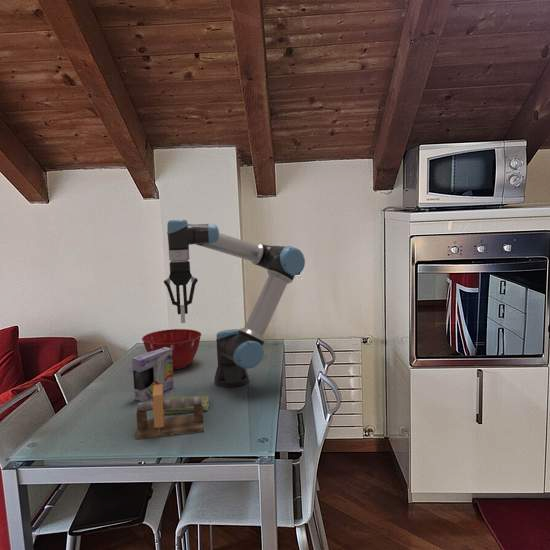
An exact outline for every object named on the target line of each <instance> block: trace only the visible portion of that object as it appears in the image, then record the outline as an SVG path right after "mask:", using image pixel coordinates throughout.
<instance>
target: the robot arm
mask: <svg viewBox="0 0 550 550" xmlns="http://www.w3.org/2000/svg"><path fill="white" fill-rule="evenodd" d="M166 228H167V232H166V234H167V244H168V260H169V261H170V262H169V275H168V277H167V278H166V279H165V280H163V284H164V285H165V287H166V288H167V292H168V295H169V298H170V300H171V303H172V304H171V305H173V306H176V308H177V309H176V310H177V315H180V322H181V324H185V323H186V315H187V314H188V313H189V312H188V311H189V310H188V305H190V304H192V303H193V297H194V293H195V289H196V284H197V283H198V281H199V280H198V278H197V277H194V276H193V275H192V273H191V265H190V264H191V263H190V261H189V260H190V247H189V246H191V245H195V246H200V247H203V248H205V249H210V250H212V251H216V252H219V253H222V254H227V255H231V256H233V257H237V258H240V259H243V260H246V261H250V262H251V263H252V264H253V265H255V266H258V267H261V268H263V269H266V272H267V275H268V276H267V278H266V281H265V283H264V285H263V287H262V290H261V292H260V293H259V296H258V297H257V299H256V301H255V304H254V307H253V308H252V310H251V313H250V315H249V316H248V319H247V321H246V323H245V325H244V326H243V327H242V328H240V329H239V328H234V329H225V330H220V331H218V332H216V339H215V340H216V341H215V342H216V355H217V367H216V371H215V373H214V374H215V375H214V380H213V381H214V384H215V385H216V386H218V387H220V388H221V387H222V388H237V387H241V386H245V385H247V384H248V383H249V382H250V376H249V373H248V370H249V369H253V368H255V367H257V366H258V365H259V364H260V363H261V362H262V361H263V358H264V355H265V354H264V348H263V346H264V344H265V341H266V340H265V338H264V337H265V336H264V335H265V333H266V331H267V329H268V326H269V324H270V322H271V320H272V317H273V315H274V314H275V312H276V310H277V307H278V305H279V303H280V300H281V298H282V296H283V294H284V291H286V287H287V285H289V284H291V283H293V281H294V278H295V277H296V276H298V275H300V274H301V273H302V272H303V270H304V269H305V265H306V260H305V257H304V253H303V252H302V251H301V250H300V249H299V248H297V247H294V246H290V245H288V246H287V245H286V246H285V245H284V246H282V245H266V244H263V243H257V244H255V243H252V242H249V241H246V240H243V239H239V238H236V237H234V236H231V235H226V234H224V233H221V232H220V231H219V230H220V229H219V227H218V225H216V224H215V223H201V224H191V223H188V220H187V219H175V220H174V219H173V220H171V219H170V220H169V221H167V227H166ZM171 282H172V284H173V285H174V286H175V290H176V292H175V293H176V294H175V295H176V300H175V297H174V294H173V291H172V288H171V285H170V284H171ZM189 282H191V286H190V291H189V297H188V295H187V293H188V292H187V285H188V283H189ZM180 286H182V297H183V304H181V293H180Z"/></svg>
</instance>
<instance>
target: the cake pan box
mask: <svg viewBox="0 0 550 550" xmlns="http://www.w3.org/2000/svg"><path fill="white" fill-rule="evenodd" d="M131 361H132V373H133V391H134V392H133V393H134V400H136V401H138V400H139V401H138V402H144V401H146V399H147V400H149V399H151V398H153V388H154V385H158V384H163V393H164V392H167V391H168V390H170V389H172V388H174V387H175V386H174V385H175V384H174V370H173V363H172V349H171V348H167V347H164V348H161V349H158V350H155V351H151V352H148V353H147V352H146V353H144V354H141V355H138V356H135V357H132V358H131ZM148 398H149V399H148Z"/></svg>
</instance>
